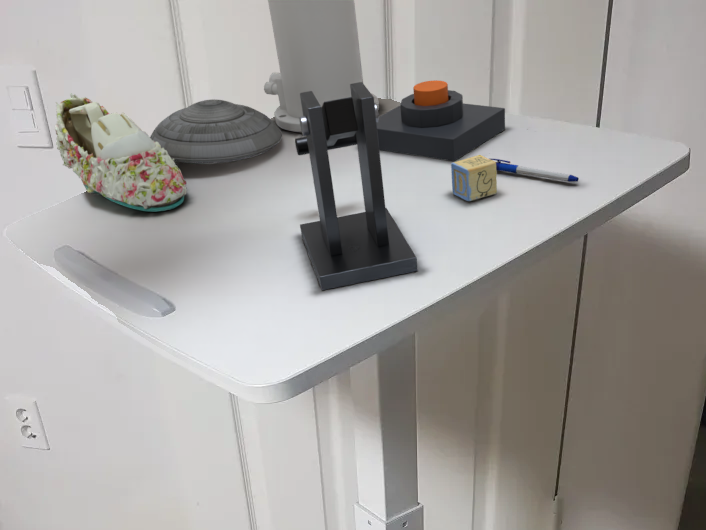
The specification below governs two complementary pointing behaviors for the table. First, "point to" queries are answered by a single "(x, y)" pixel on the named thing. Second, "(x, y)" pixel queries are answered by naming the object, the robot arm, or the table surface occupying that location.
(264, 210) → the table surface
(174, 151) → the flying saucer
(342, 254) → the bracket
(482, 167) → the alphabet block
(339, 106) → the lever
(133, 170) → the ballet flat
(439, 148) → the control block
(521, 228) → the table surface
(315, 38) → the robot arm
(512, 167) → the ballpoint pen
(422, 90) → the button
